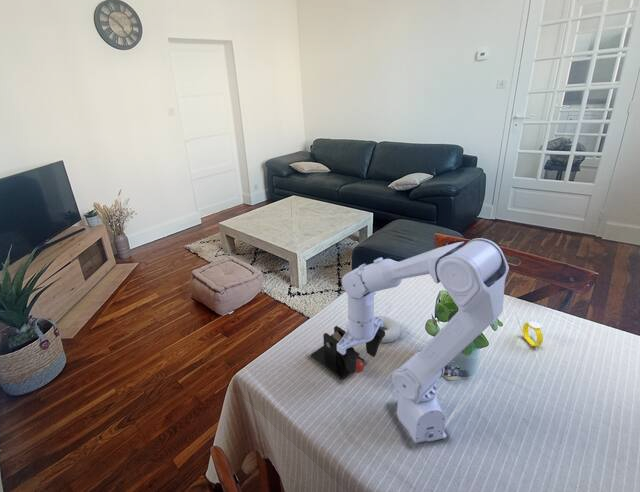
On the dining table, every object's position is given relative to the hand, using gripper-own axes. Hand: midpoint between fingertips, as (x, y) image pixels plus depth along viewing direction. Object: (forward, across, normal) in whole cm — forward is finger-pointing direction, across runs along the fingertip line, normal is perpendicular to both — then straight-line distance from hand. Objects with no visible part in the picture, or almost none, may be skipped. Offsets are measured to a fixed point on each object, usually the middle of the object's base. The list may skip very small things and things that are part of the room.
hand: (361, 362), depth 82 cm
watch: (+6, -42, +22) cm, 48 cm away
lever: (+2, 0, -5) cm, 6 cm away
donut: (+5, -17, -7) cm, 19 cm away
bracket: (+5, 0, -8) cm, 10 cm away
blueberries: (+6, -18, +13) cm, 23 cm away
